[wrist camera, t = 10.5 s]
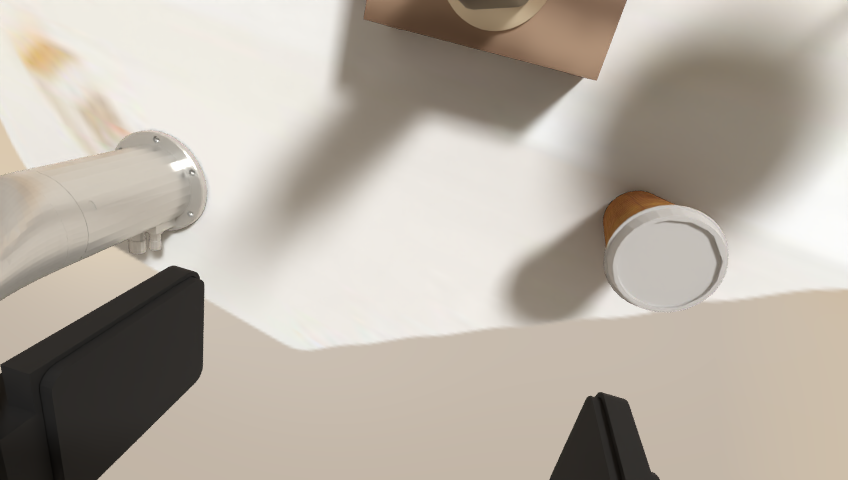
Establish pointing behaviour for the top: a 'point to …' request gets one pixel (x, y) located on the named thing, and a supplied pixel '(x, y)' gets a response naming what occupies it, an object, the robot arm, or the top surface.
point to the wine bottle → (492, 4)
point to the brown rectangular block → (514, 29)
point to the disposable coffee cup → (662, 252)
